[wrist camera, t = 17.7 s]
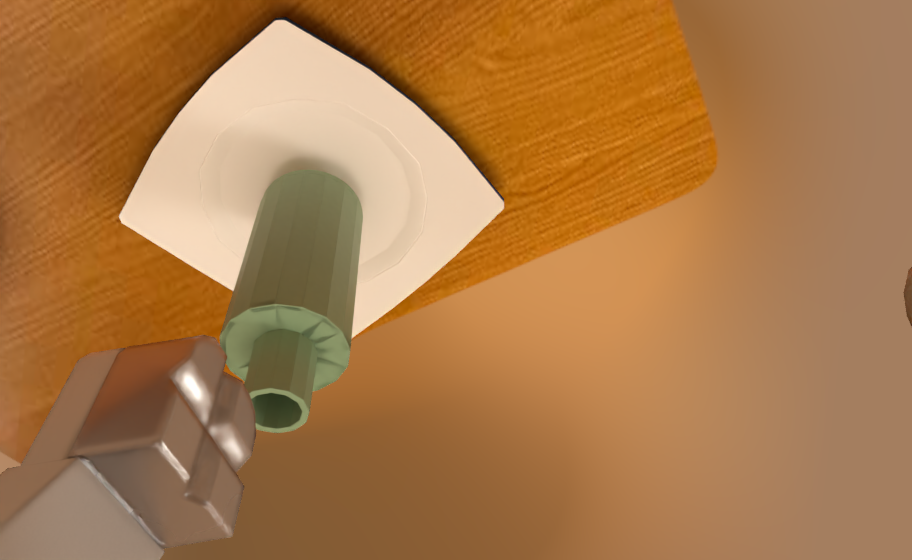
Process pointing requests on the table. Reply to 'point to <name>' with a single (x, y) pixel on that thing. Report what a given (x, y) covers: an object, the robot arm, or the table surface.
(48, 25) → the table surface
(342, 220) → the bottle
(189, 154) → the plate
